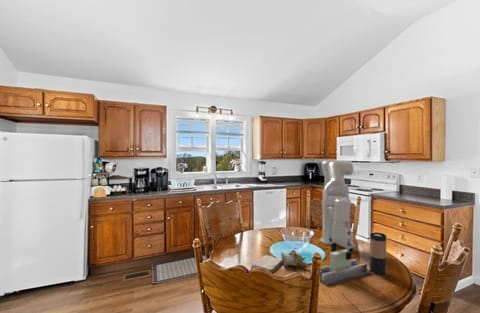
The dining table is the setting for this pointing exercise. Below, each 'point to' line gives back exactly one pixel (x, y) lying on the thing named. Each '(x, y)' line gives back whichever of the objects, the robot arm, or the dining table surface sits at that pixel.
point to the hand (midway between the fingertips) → (340, 255)
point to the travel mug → (378, 253)
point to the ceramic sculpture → (293, 259)
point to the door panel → (339, 260)
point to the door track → (343, 273)
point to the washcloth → (268, 263)
